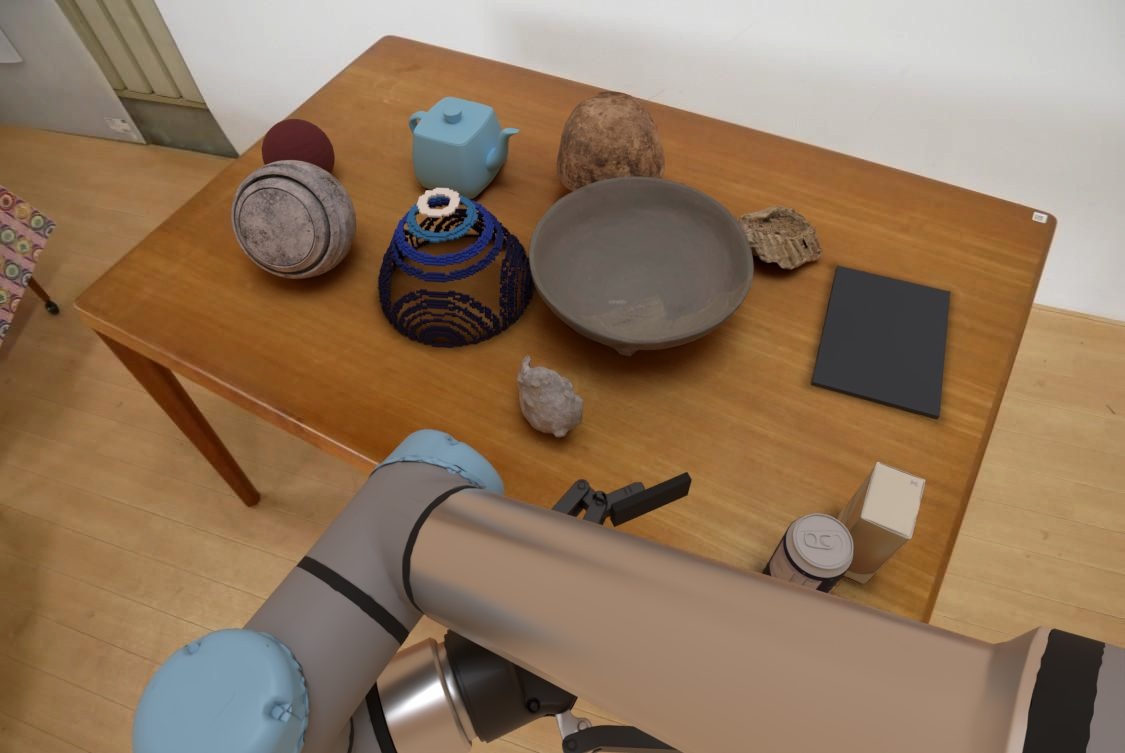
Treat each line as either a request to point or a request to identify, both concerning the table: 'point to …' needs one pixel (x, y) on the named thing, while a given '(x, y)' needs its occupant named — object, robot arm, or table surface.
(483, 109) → the teapot
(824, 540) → the beverage can
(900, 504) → the cosmetic box
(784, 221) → the seashell
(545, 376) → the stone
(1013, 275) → the table surface
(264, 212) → the decorative orb
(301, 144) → the decorative ball
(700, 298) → the bowl
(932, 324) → the slate mat
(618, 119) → the brown rounded lump
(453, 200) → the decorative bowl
